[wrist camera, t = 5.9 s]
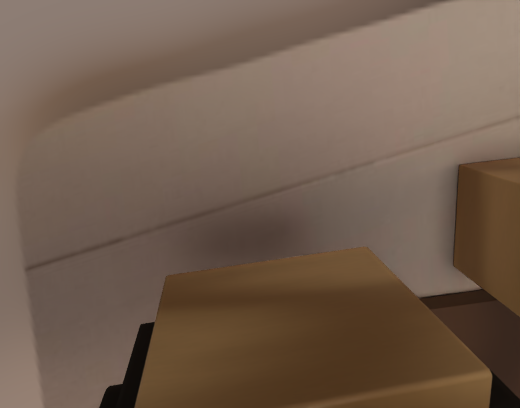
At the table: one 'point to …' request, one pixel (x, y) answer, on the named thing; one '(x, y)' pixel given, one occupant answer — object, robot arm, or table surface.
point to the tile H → (305, 340)
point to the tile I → (490, 228)
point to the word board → (484, 331)
